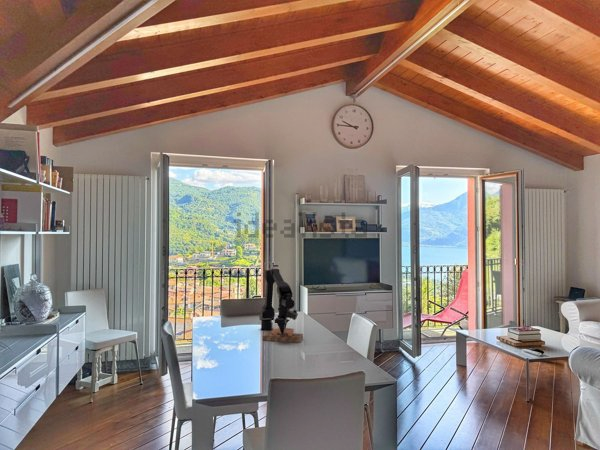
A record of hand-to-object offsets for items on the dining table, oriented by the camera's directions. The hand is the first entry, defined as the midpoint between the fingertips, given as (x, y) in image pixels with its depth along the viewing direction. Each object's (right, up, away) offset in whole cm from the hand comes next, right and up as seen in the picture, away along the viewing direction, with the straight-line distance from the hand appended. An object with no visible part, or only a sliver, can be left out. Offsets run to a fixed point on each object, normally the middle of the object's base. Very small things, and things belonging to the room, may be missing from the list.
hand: (283, 332), depth 239 cm
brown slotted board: (0, -4, 0) cm, 4 cm away
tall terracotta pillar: (0, -3, 0) cm, 3 cm away
